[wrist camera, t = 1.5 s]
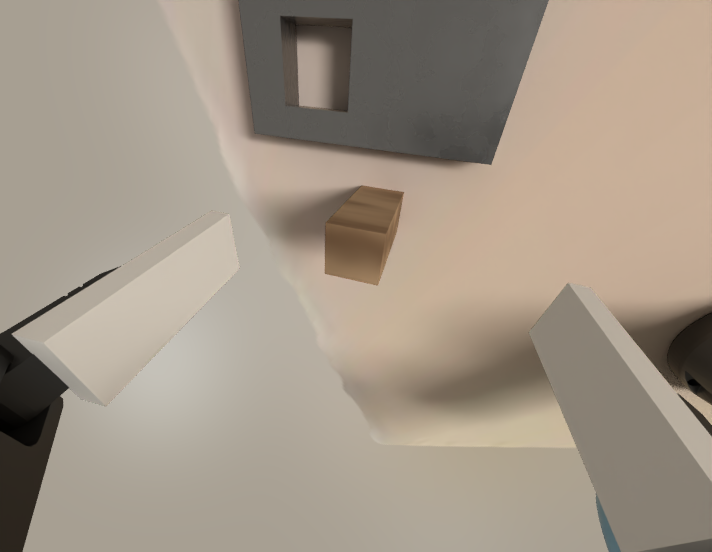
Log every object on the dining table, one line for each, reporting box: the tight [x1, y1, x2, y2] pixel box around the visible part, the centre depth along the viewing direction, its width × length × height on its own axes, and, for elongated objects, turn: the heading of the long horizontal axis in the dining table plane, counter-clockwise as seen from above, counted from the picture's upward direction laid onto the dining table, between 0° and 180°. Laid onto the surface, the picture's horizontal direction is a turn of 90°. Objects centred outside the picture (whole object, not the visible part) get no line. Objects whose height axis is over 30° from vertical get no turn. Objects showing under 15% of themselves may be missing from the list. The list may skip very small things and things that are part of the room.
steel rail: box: [239, 0, 549, 165], centre depth 24 cm, size 12×24×3 cm, turn 86°
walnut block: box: [325, 186, 404, 286], centre depth 27 cm, size 5×5×12 cm
